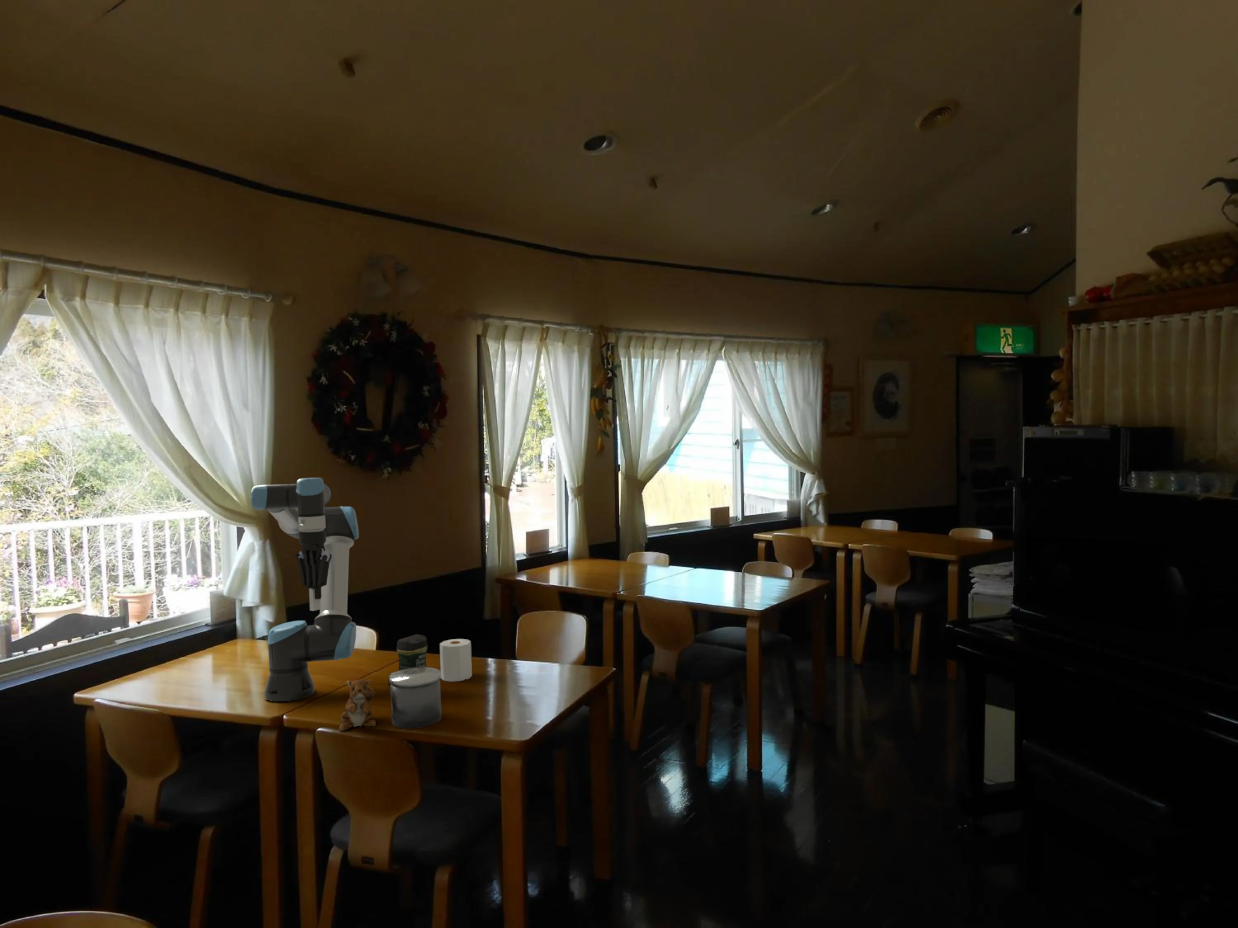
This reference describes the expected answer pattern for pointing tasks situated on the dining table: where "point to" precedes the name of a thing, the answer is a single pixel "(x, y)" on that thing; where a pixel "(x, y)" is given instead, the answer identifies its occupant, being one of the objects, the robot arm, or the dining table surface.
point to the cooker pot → (415, 705)
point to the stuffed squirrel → (358, 706)
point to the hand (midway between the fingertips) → (315, 609)
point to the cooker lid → (414, 677)
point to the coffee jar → (412, 652)
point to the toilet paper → (455, 660)
